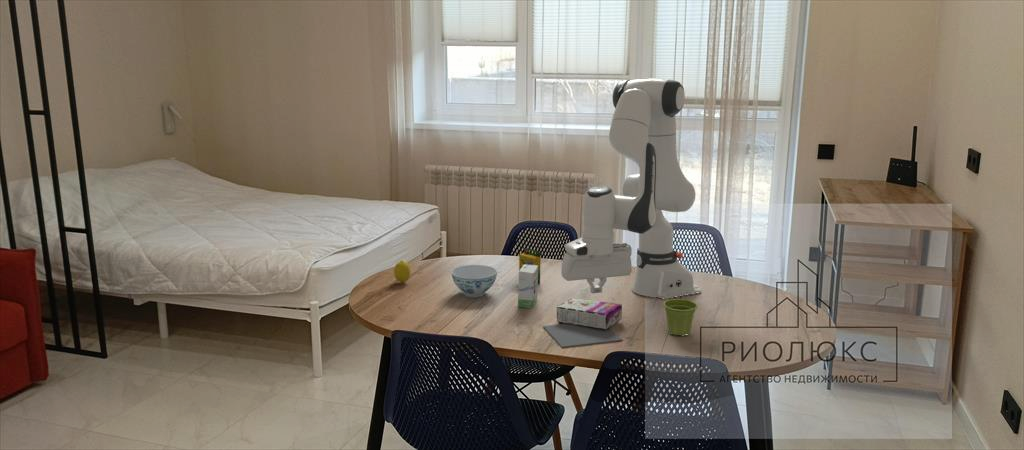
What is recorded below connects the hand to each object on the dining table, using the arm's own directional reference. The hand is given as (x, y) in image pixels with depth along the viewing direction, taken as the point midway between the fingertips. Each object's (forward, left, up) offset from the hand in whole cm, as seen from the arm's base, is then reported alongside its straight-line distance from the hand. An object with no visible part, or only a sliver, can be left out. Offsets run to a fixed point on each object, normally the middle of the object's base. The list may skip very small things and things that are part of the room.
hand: (596, 292), depth 220 cm
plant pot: (-23, +7, -12) cm, 27 cm away
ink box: (+11, -29, -12) cm, 33 cm away
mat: (+4, 0, -12) cm, 13 cm away
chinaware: (+25, -43, -12) cm, 51 cm away
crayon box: (+4, -49, -12) cm, 51 cm away
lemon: (+46, -61, -12) cm, 77 cm away
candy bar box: (-7, -2, -9) cm, 11 cm away
